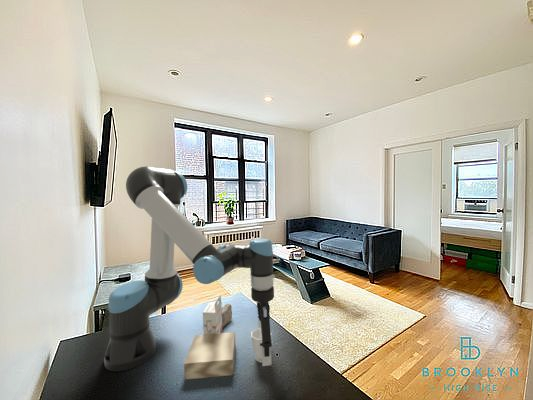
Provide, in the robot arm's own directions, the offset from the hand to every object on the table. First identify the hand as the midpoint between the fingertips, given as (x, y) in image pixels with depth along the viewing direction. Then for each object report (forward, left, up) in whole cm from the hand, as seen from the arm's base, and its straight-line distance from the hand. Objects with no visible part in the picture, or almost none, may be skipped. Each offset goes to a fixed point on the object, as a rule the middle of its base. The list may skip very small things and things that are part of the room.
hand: (264, 350), depth 76 cm
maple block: (-17, 0, -2) cm, 17 cm away
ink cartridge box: (-18, +12, -1) cm, 22 cm away
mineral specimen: (-17, +22, -2) cm, 27 cm away
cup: (0, 0, -2) cm, 2 cm away
